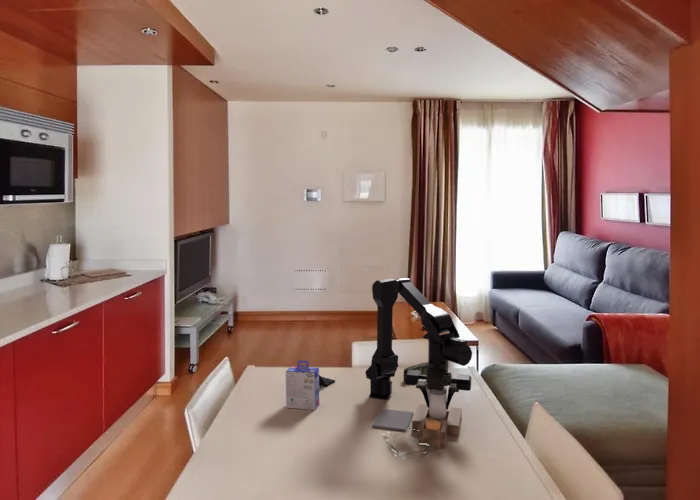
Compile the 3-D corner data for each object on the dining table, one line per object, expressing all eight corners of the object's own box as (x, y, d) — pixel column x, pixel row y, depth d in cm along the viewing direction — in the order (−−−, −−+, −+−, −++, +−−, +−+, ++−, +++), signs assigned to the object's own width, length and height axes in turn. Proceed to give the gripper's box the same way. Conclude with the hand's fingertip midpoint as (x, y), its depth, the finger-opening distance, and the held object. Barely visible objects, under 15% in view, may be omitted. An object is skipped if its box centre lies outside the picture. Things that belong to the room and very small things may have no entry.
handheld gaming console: (337, 376, 184) (326, 359, 178) (332, 393, 179) (320, 377, 173) (310, 375, 189) (299, 360, 183) (304, 392, 184) (292, 377, 178)
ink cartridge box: (320, 403, 163) (319, 360, 162) (315, 410, 158) (315, 365, 156) (291, 401, 165) (290, 358, 164) (285, 408, 160) (284, 364, 158)
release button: (424, 439, 136) (424, 425, 135) (426, 432, 139) (426, 419, 139) (439, 441, 134) (439, 427, 134) (441, 434, 138) (441, 420, 138)
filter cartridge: (427, 424, 146) (428, 390, 145) (430, 416, 151) (430, 384, 149) (445, 426, 144) (445, 392, 143) (447, 418, 149) (447, 386, 148)
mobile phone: (407, 370, 180) (436, 361, 189) (401, 368, 183) (430, 359, 191) (407, 383, 181) (436, 373, 190) (401, 381, 183) (430, 371, 192)
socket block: (407, 443, 136) (407, 427, 136) (418, 413, 155) (418, 399, 155) (456, 449, 132) (456, 433, 132) (461, 418, 151) (461, 403, 151)
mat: (372, 427, 146) (372, 425, 146) (381, 410, 157) (381, 408, 157) (406, 431, 143) (406, 429, 143) (413, 414, 155) (413, 412, 154)
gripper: (401, 362, 140) (401, 416, 142) (470, 368, 135) (469, 423, 137) (408, 350, 151) (407, 400, 153) (471, 355, 146) (471, 407, 147)
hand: (437, 408), depth 147 cm, fingers closed on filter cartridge, 5 cm apart
